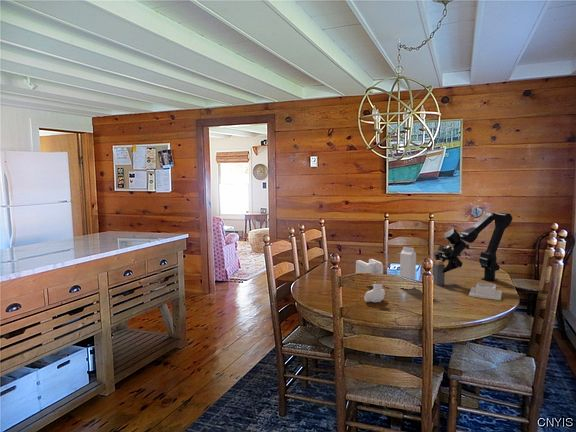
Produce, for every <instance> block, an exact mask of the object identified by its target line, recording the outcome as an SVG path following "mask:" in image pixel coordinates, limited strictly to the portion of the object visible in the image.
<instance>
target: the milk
mask: <svg viewBox="0 0 576 432" xmlns="http://www.w3.org/2000/svg"><path fill="white" fill-rule="evenodd" d="M399 260H400V261H399V277H400V276H404V277H407V278H410V279H414V280H415V281H416V271H417V269H416V267H417V265H416V264H417V252H416V251H415V250H414V247H411V246H410V247H409V246H403V247H402V250H401V251H400V255H399Z"/></svg>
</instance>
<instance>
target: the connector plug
mask: <svg viewBox="0 0 576 432" xmlns="http://www.w3.org/2000/svg"><path fill="white" fill-rule="evenodd" d="M434 263H435V264H434ZM434 263H432V277H433V276H434V284H433V285H436V286H442V285H443V286H444V285H445V275H446V272H445V273H443V272H442V271H443V270H444V268H445V267H446V264H444V262H443V261H441V260H436V259H435V260H434Z"/></svg>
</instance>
